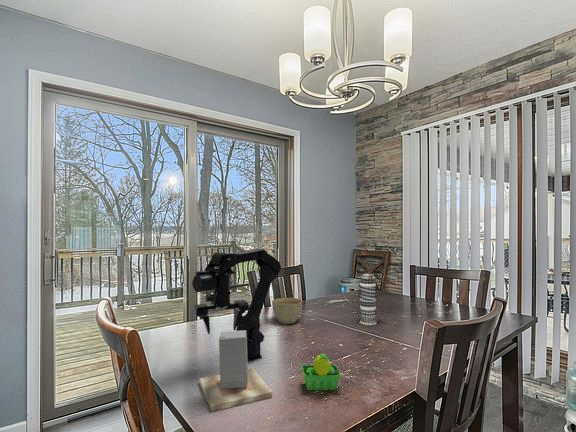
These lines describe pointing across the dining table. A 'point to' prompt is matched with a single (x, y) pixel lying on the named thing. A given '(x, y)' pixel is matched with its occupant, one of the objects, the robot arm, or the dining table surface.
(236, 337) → the skincare box
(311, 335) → the dining table surface
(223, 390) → the birch base
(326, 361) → the fruit basket
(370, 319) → the decorative candle
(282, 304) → the planter bowl
